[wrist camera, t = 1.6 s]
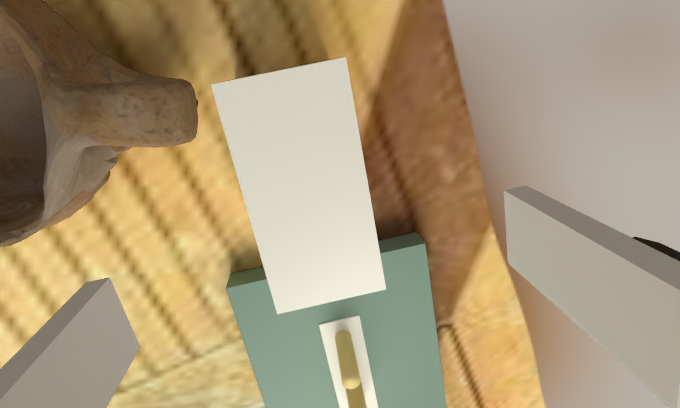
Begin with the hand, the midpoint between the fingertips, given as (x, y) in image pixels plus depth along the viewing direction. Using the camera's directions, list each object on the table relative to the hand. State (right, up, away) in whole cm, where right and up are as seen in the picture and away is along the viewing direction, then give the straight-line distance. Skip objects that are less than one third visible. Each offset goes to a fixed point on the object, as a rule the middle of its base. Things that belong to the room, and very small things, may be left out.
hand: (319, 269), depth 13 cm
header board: (+1, -9, +19) cm, 21 cm away
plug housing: (-2, +5, +14) cm, 15 cm away
